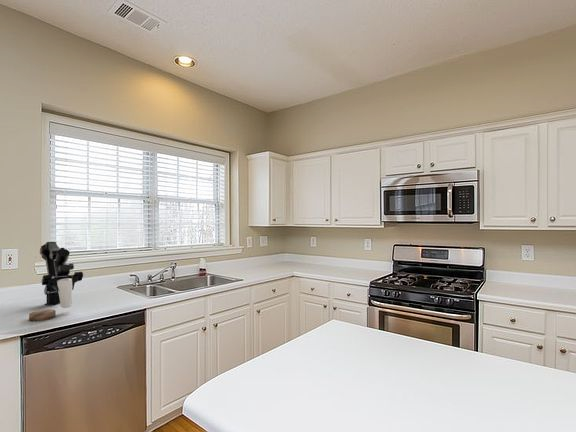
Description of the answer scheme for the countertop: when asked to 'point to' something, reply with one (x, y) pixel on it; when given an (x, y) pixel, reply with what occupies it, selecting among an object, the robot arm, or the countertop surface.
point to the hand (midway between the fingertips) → (65, 290)
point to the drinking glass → (65, 292)
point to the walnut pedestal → (42, 315)
